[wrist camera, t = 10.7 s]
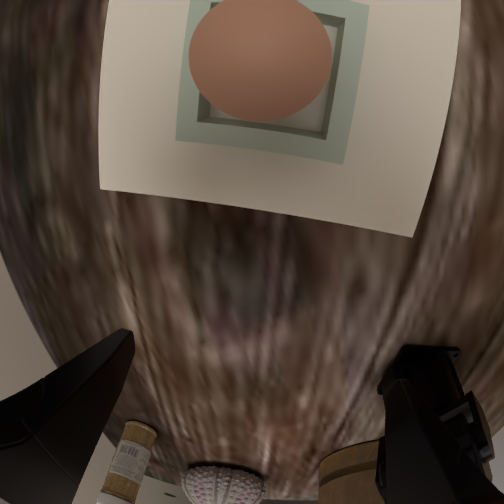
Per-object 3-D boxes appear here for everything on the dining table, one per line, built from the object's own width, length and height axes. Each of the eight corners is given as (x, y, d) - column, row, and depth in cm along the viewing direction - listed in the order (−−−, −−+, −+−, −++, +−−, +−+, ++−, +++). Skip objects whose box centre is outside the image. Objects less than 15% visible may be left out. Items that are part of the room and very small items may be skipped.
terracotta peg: (316, 40, 13) (340, 3, 6) (305, 111, 15) (320, 132, 8) (238, 30, 14) (197, -11, 7) (229, 101, 16) (182, 113, 9)
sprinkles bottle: (125, 427, 37) (94, 506, 25) (128, 415, 35) (94, 502, 23) (155, 439, 38) (129, 520, 26) (161, 429, 35) (133, 517, 24)
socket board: (453, -3, 11) (482, -14, 8) (407, 230, 19) (425, 258, 16) (126, -44, 12) (99, -60, 9) (107, 184, 20) (79, 203, 17)
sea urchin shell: (284, 479, 41) (281, 522, 34) (229, 490, 47) (223, 526, 40) (219, 452, 37) (210, 502, 30) (169, 465, 43) (158, 505, 36)
